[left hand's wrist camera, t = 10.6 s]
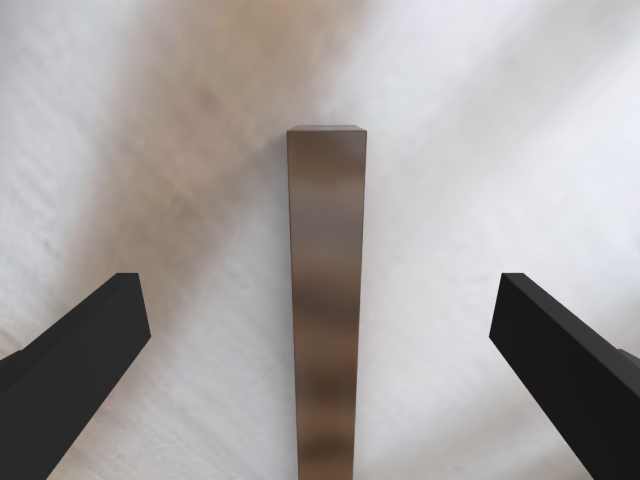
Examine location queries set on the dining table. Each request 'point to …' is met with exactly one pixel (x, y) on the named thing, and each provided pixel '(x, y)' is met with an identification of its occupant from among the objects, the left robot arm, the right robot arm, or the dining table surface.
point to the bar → (326, 291)
